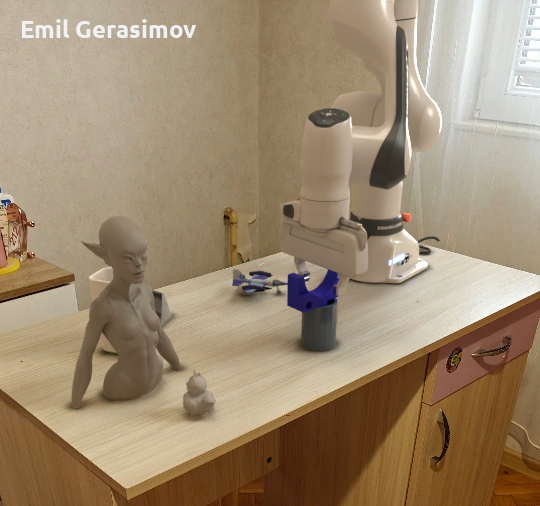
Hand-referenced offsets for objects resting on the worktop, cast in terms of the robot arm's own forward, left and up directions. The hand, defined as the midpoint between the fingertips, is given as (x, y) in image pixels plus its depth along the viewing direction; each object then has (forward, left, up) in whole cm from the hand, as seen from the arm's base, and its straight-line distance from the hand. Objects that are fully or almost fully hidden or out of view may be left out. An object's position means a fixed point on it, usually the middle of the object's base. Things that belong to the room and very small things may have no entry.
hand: (320, 287), depth 136 cm
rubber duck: (+34, +7, -12) cm, 37 cm away
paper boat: (+18, -33, -12) cm, 39 cm away
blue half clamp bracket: (+1, 0, -3) cm, 3 cm away
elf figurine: (+38, -6, -12) cm, 40 cm away
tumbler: (0, 0, -12) cm, 12 cm away
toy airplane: (-9, -28, -12) cm, 32 cm away
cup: (+31, -23, -12) cm, 40 cm away
